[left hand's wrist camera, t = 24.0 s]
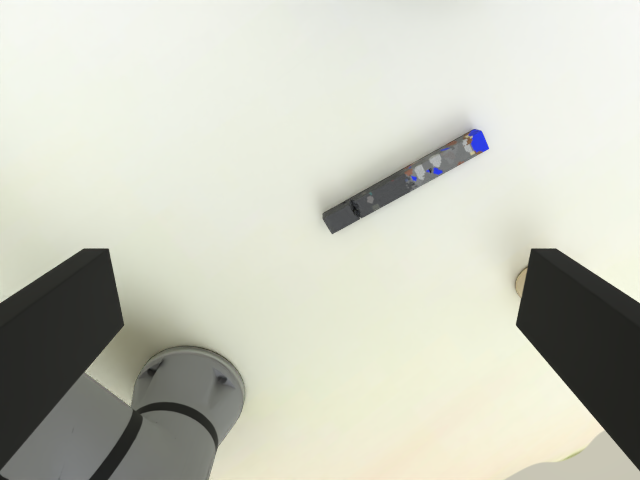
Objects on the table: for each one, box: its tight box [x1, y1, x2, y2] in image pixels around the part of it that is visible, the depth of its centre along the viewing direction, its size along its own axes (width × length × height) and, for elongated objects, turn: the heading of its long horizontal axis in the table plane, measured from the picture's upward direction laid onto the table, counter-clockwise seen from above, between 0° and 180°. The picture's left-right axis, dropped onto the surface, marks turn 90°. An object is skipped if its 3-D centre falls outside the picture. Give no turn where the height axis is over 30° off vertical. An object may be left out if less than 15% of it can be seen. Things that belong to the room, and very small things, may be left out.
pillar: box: [323, 129, 489, 234], centre depth 45 cm, size 2×2×20 cm
